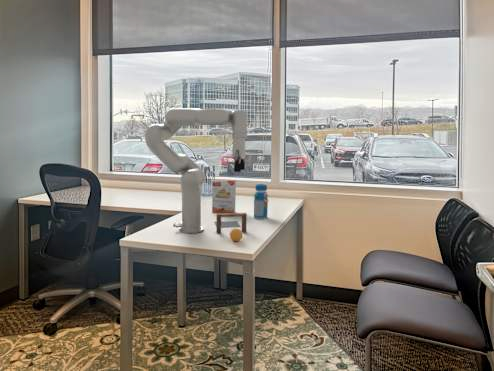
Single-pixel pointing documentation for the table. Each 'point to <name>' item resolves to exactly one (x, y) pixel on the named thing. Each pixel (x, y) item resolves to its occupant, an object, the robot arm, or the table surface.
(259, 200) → the beverage bottle
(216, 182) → the cracker box
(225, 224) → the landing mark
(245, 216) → the bridge
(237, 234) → the ball
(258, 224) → the table surface
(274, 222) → the table surface
